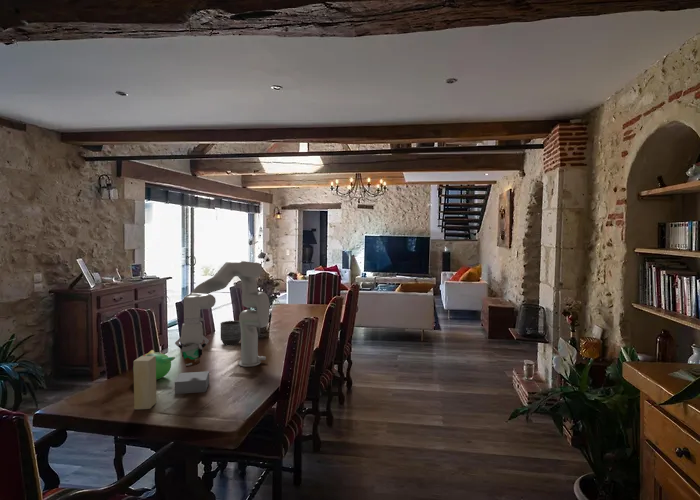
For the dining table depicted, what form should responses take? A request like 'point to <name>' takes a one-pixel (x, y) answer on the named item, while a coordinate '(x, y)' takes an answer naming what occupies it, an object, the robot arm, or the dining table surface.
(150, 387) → the beige tall block
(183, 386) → the grey block
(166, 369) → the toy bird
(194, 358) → the food container
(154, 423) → the dining table surface
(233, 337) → the planter
